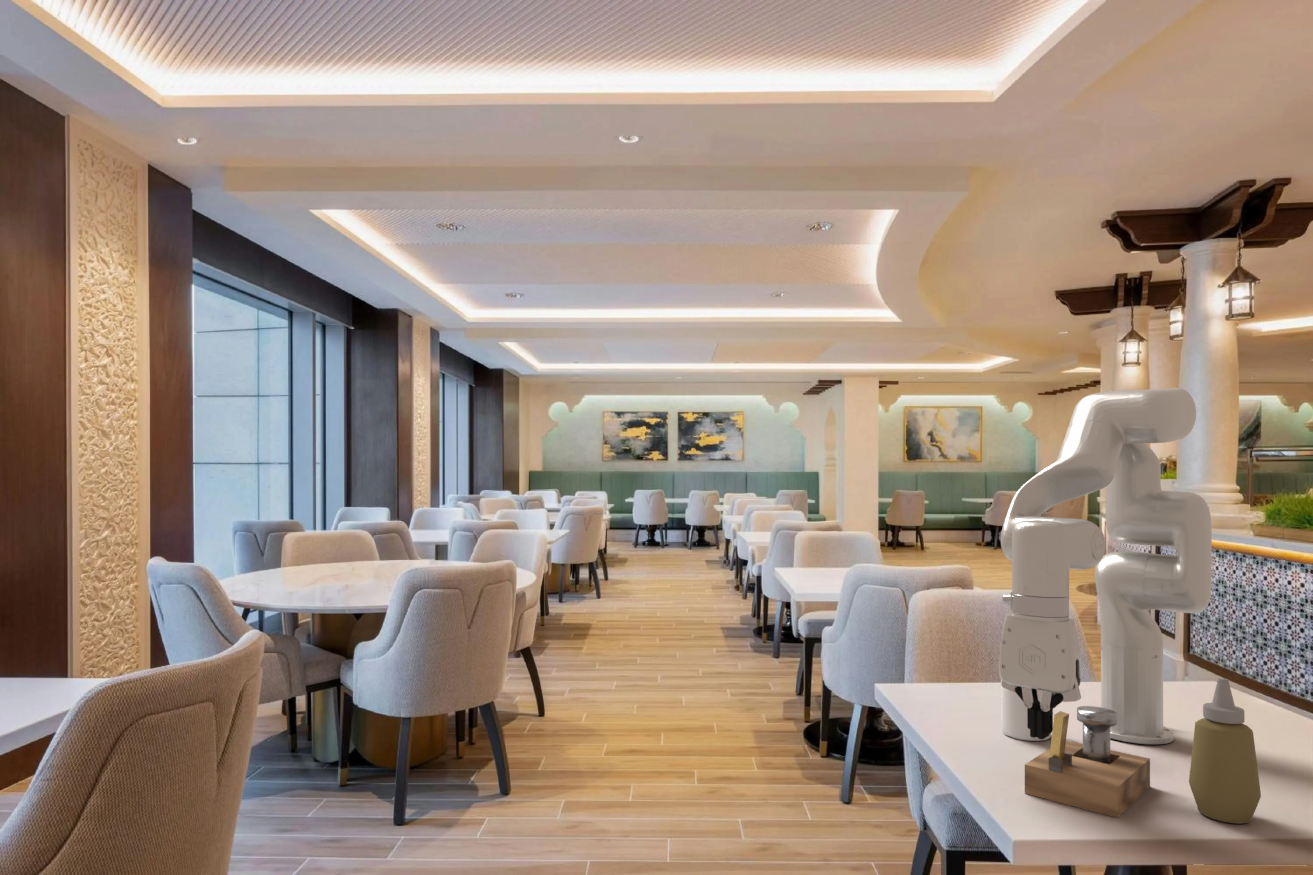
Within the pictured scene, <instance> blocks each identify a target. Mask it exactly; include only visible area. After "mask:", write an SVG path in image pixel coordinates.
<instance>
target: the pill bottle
mask: <svg viewBox="0 0 1313 875" xmlns="http://www.w3.org/2000/svg"><path fill="white" fill-rule="evenodd" d="M1003 665H1004V664H1003ZM1001 683H1002V680H1001V679H1000V694H1001V695H1000V697H1001V698H1000V700H1001V701H1000V704H1001V705H1000V707H1001V708H1000V711H1001V712H1000V714H1001V715H1000V717H1001V718H1000V719H1001V720H1000V723H1001V725H1000V726H1001V731H1002V733H1003V734H1004V735H1006V736H1008V737H1010V738H1012V739H1016V740H1021V741H1029V742H1038V741H1039V742H1041V741H1047V740H1049V739H1050V738H1051V737H1052V733H1050V735H1049V736H1048V737H1046V738H1044V739H1038V738H1037V737H1035V738H1033V737H1030V729H1028V727H1027V708H1026V707H1025V705H1024V702H1023V701H1022V700H1021V698H1020V697H1019V696H1018V695H1017V694H1016V693H1015V692H1012V691H1010V690H1008V689H1006V688H1003V687H1002V685H1001ZM1038 694H1039V700H1040V705H1041V701H1042V694H1043V690H1038Z"/></svg>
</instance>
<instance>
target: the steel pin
mask: <svg viewBox="0 0 1313 875" xmlns="http://www.w3.org/2000/svg"><path fill="white" fill-rule="evenodd" d="M1076 720H1077V721H1078V722H1081V723H1082V744H1083V759H1088V760H1092V761H1097V762H1101V763H1105V764H1110V750H1111V738H1110V727H1111V726H1116V725H1117V713H1116V712H1115V711H1112V710H1110V709H1106V708H1101V706H1091V705H1081V706H1078V707H1077V708H1076Z"/></svg>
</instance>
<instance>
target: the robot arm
mask: <svg viewBox="0 0 1313 875" xmlns="http://www.w3.org/2000/svg"><path fill="white" fill-rule="evenodd" d="M1196 419H1197V408H1196V403H1195V400H1194V399H1193V396H1192V395H1191V394H1190V392H1188V391H1187V390H1185V389H1183V388H1181V387H1172V388H1171V387H1170V388H1169V387H1167V388H1151V389H1150V388H1149V389H1148V388H1147V389H1123V390H1120V389H1119V390H1110V391H1109V390H1108V391H1103V392H1102V391H1101V392H1096V393H1091V394H1088V395H1086V396H1084V397H1082V398H1081V399H1080V400H1079V401H1078V402H1077V403H1076V404H1075V407H1074V409H1073V412H1072V414H1071V417H1070V420H1069V424H1068V426H1067V429H1066V431H1065V432H1066V433H1065V435H1064V438H1063V441H1062V444H1061V447H1060V449H1059V453H1058V456H1057V459H1056V460H1055V461H1054V462H1053V463H1051V464H1049V465H1048V466H1047V467H1045V468H1043V469H1042V470H1040V471H1039V472H1037V473H1036V474H1035V475H1034V476H1032V477H1031V478H1030V479H1028V480H1027V481H1026V482H1025V483H1023V485H1022V486H1020V488H1019V489H1018V490H1017V491H1016V492H1015V494H1014V496H1013V497H1012V498H1011V501H1010V504H1009V506H1008V510H1007V512H1006V515H1005V518H1004V521H1003V525H1002V529H1001V533H1000V547H1001V550H1002V552H1003V554H1004V556H1005V558H1006V559H1008V560H1009V561H1011V592H1010V593H1009V594H1003V596H1002V603H1003V604H1004V605H1008V606H1010V611H1011V612H1007V613H1005V617H1004V622H1003V625H1002V632H1001V638H1000V644H999V655H998V656H999V659H998V676H999V679H1000V681H1001V680H1002V683H1001V682H1000V686H1001V685H1002V687H1003V688H1006V689H1008V690H1010V691H1012V692H1015V693H1016V694H1017V695H1018V696H1019V697H1020V698H1021V700H1022V701H1023V702H1024V705H1025V707H1026V708H1027V727H1028V729H1030V737H1033V738H1035V737H1037V738H1038V739H1044V738H1046V737H1048V736H1049V735H1050V733H1051V734H1052V731H1053V723H1054V709H1055V708H1056V707H1057V706H1058V705H1060V704H1061V703H1067V702H1069V703H1071V702H1078V701H1080V700H1081V699H1082V695H1081V690H1080V685H1081V680H1082V667H1081V666H1082V665H1081V653H1080V645H1079V639H1078V634H1077V633H1078V632H1077V628H1076V624H1075V620H1074V619H1073V618H1071V617H1070V570H1076V571H1084V570H1089V569H1092V568H1093V567H1095V568H1094V583H1095V587H1096V593H1097V598H1098V599H1097V600H1098V604H1099V614H1100V707H1101V708H1106V709H1110V710H1112V711H1115V712H1116V713H1117V725H1116V726H1111V727H1110V739H1111V740H1116V741H1120V742H1125V743H1131V744H1137V745H1138V744H1139V745H1152V746H1153V745H1166V744H1169V743H1172V742H1173V741H1174V740H1175V736H1174V735H1175V733H1174V732H1173V730H1171V729H1170V728H1168V727H1166V726H1164V640H1163V639H1164V638H1163V633H1162V630H1161V628H1160V626H1159V625H1158V623H1157V622H1156V621H1155V619H1154V618H1153V616H1152V615H1151V614H1150V612H1149V611H1148V610H1156V611H1165V612H1175V613H1181V614H1182V613H1183V614H1198V613H1201V612H1203V611H1204V610H1206V608H1208V605H1209V604H1210V601H1211V596H1212V554H1213V553H1212V543H1213V542H1212V537H1213V536H1212V531H1213V530H1212V517H1211V512H1210V509H1209V508H1210V507H1209V506H1208V503H1207V502H1206V500H1205V498H1204V497H1202V496H1201V495H1199V494H1197V493H1195V492H1189V491H1176V490H1175V491H1173V490H1171V491H1170V490H1168V491H1167V490H1162V486H1161V484H1162V483H1161V479H1162V478H1161V469H1162V468H1161V466H1162V465H1161V461H1160V460H1159V457H1158V455H1157V454H1156V453H1155V452H1154V451H1153V449H1152V448H1151V447H1150V445H1148V444H1162V443H1163V444H1164V443H1165V444H1166V443H1171V442H1175V441H1178V440H1179V441H1180V440H1181V439H1184V438H1186V437H1187V436H1189V435H1190V433H1191V432H1192V430H1193V428H1194V427H1195V425H1196V424H1195V423H1196ZM1104 488H1105V528H1106V531H1107V534H1108V536H1109V537H1110V538H1111V539H1112V540H1114V541H1116V542H1119V543H1123V544H1129V545H1130V544H1131V545H1140V546H1141V545H1142V546H1153V547H1154V546H1157V547H1171V548H1173V549H1175V550H1176V553H1177V555H1174V554H1173V555H1172V554H1160V553H1159V554H1158V553H1153V552H1152V553H1151V552H1149V553H1148V552H1139V551H1138V552H1137V551H1112V552H1108V553H1106V546H1107V544H1106V543H1107V542H1106V538H1105V534H1104V532H1103V531H1102V529H1101V528H1100V526H1098V525H1097V524H1095V523H1094V522H1092V521H1089V520H1087V519H1083V518H1082V519H1080V518H1069V517H1068V518H1066V517H1065V518H1064V517H1051V516H1041V515H1043V514H1044V513H1045V512H1046V511H1048V510H1049V509H1051V508H1053V507H1055V506H1057V505H1059V504H1063V503H1064V502H1068V501H1072V500H1075V499H1077V498H1081V497H1084V496H1087V495H1090V494H1092V493H1095V492H1098V491H1100V490H1102V489H1104ZM1105 553H1106V554H1105ZM1003 664H1004V665H1003ZM1038 690H1043V694H1042V701H1041V705H1040V700H1039V694H1038Z"/></svg>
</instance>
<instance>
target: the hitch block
mask: <svg viewBox="0 0 1313 875" xmlns="http://www.w3.org/2000/svg"><path fill="white" fill-rule="evenodd" d="M1049 756H1050V748H1048V749H1047V750H1045V751H1043V752H1042V753H1040V754H1039V755H1037V756H1035V757H1034V758H1033V759H1031V760H1030V761H1028V762H1026V763H1025V764H1024V794H1027V795H1030V796H1034V797H1036V798H1037V797H1038V798H1042V799H1044V800H1049V801H1053V802H1056V803H1061V804H1064V805H1067V806H1071V807H1075V808H1079V809H1083V810H1086V811H1087V810H1088V811H1090V812H1094V813H1098V814H1102V815H1106V816H1110V817H1114V818H1117V819H1118V818H1119V817H1121V816H1122V815H1123V813H1125V811H1126V810H1128V808H1129V807H1131V806H1132V805H1133V804H1134V803H1135V802H1136V800H1139V798H1140V797H1141V796H1142V795H1143V794H1144V793H1145V792H1146V791H1147V790H1148V789H1149V788H1150V787H1151V758H1149V757H1144V756H1139V755H1136V754H1131V753H1127V752H1121V751H1116V750H1113V749H1110V764H1105V763H1101V762H1097V761H1092V760H1088V759H1083V743H1080V742H1074V741H1072V740H1071V741H1070V740H1066V745H1065V753H1064V761H1063V760H1061V759H1057V758H1053V757H1050V758H1049Z"/></svg>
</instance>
